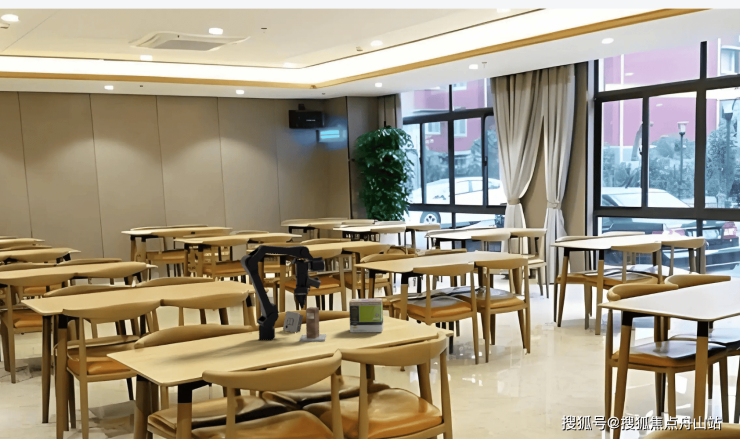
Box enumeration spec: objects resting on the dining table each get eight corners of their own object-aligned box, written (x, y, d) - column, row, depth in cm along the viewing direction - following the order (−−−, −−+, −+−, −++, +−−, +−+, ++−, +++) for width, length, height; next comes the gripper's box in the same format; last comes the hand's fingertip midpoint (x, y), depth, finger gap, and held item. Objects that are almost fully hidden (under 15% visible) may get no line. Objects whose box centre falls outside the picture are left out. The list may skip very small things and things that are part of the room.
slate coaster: (299, 341, 316) (299, 339, 315) (301, 336, 326) (301, 334, 326) (324, 341, 316) (324, 339, 316) (326, 336, 327) (326, 334, 327)
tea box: (383, 328, 341) (383, 297, 341) (381, 333, 331) (381, 301, 331) (352, 328, 343) (351, 298, 342) (349, 333, 333) (348, 301, 332)
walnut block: (305, 338, 319) (305, 309, 318) (310, 335, 324) (309, 307, 323) (315, 338, 318) (314, 309, 317) (319, 336, 322) (318, 307, 322)
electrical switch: (282, 330, 341) (283, 311, 341) (290, 330, 345) (291, 310, 345) (295, 333, 335) (296, 313, 335) (303, 332, 338) (304, 312, 338)
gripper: (318, 274, 319) (319, 309, 320) (320, 270, 338) (321, 302, 339) (293, 275, 319) (294, 310, 320) (297, 270, 338) (298, 303, 339)
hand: (303, 306), depth 329 cm, fingers open, 9 cm apart
